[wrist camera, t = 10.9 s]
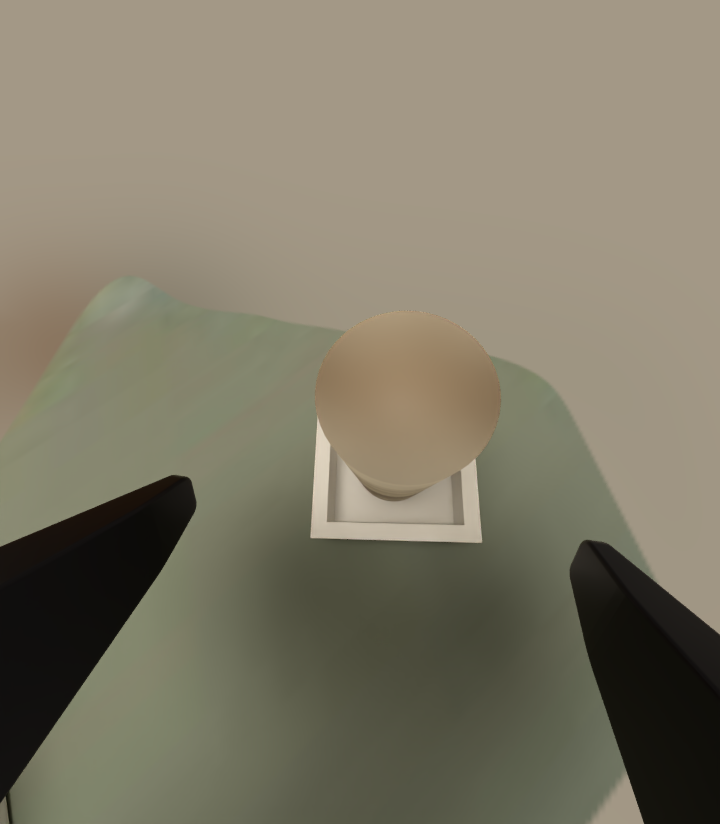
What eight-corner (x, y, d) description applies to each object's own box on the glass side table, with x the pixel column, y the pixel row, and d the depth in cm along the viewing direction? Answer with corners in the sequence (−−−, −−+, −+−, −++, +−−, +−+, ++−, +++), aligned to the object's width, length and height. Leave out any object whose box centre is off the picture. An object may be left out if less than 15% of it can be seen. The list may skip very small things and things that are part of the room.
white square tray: (465, 538, 20) (482, 542, 16) (322, 534, 20) (310, 537, 17) (456, 400, 22) (469, 380, 19) (329, 401, 23) (319, 382, 20)
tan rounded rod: (431, 502, 20) (510, 485, 7) (355, 500, 20) (310, 483, 8) (428, 428, 21) (491, 308, 9) (357, 428, 21) (319, 313, 9)
